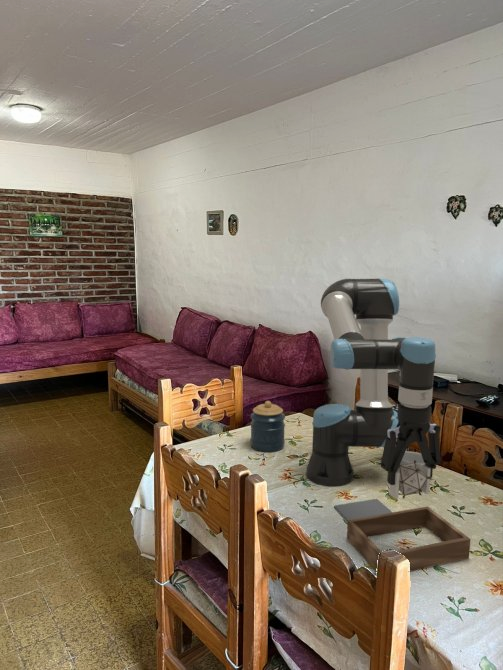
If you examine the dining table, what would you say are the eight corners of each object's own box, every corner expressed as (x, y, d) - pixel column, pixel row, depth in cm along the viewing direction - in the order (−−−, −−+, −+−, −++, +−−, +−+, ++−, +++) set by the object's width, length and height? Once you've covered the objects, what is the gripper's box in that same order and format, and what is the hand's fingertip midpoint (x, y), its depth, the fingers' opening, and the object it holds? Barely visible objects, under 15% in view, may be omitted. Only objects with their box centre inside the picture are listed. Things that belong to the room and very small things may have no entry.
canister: (246, 450, 181) (247, 404, 178) (254, 438, 193) (254, 395, 190) (281, 454, 178) (282, 407, 175) (287, 441, 190) (287, 397, 188)
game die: (414, 511, 118) (434, 493, 111) (381, 496, 119) (398, 477, 112) (419, 481, 125) (437, 461, 118) (387, 467, 126) (403, 446, 119)
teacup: (389, 473, 163) (391, 450, 162) (421, 472, 164) (422, 449, 162) (406, 493, 149) (407, 468, 148) (440, 491, 150) (442, 467, 149)
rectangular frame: (346, 538, 125) (347, 520, 124) (426, 523, 132) (427, 506, 131) (381, 577, 110) (382, 557, 109) (468, 558, 117) (470, 539, 116)
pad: (334, 507, 140) (334, 505, 140) (376, 500, 145) (376, 498, 144) (354, 529, 129) (355, 527, 129) (400, 521, 133) (400, 519, 133)
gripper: (385, 412, 109) (380, 507, 112) (462, 404, 115) (455, 494, 119) (367, 402, 116) (363, 492, 119) (441, 395, 122) (434, 481, 126)
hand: (409, 493), depth 119 cm, fingers closed on game die, 8 cm apart
